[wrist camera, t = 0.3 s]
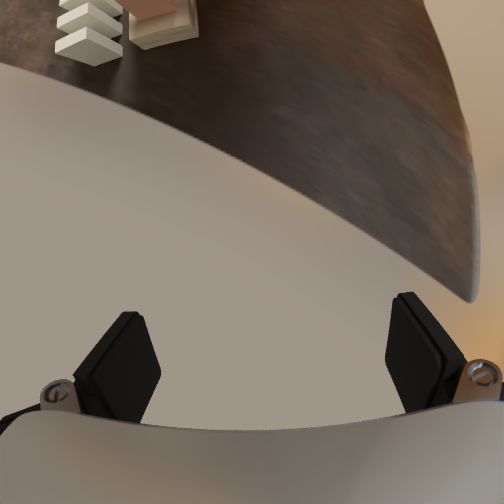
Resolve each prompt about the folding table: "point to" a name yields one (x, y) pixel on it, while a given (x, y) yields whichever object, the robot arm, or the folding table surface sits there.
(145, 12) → the domino
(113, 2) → the domino
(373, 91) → the folding table surface
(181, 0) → the stand
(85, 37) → the domino
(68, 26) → the domino
